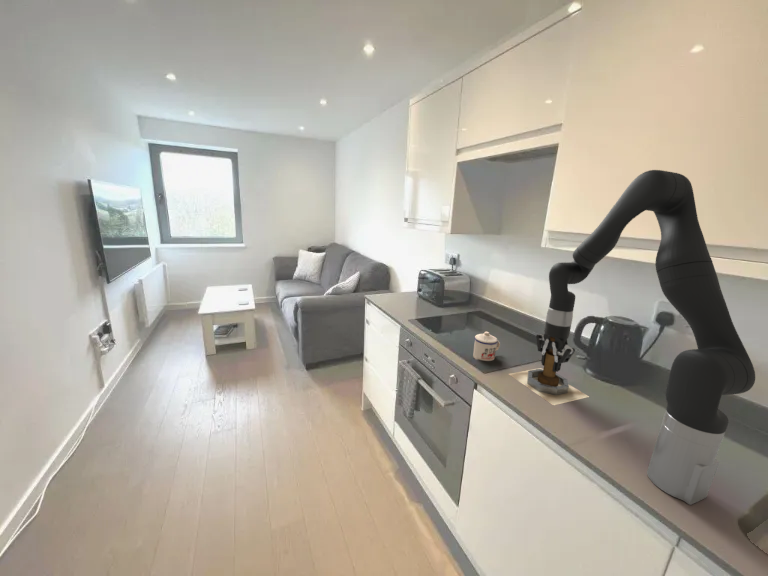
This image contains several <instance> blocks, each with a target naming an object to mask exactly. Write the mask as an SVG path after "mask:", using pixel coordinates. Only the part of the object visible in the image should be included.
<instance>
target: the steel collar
mask: <svg viewBox="0 0 768 576" xmlns="http://www.w3.org/2000/svg"><path fill="white" fill-rule="evenodd" d="M534 369H535V370H532V369H529V370H530V371H528V376H527V384H529V385H530V386H532V387H533V388H534V389H536V390H537V391H539V392H543V393H547V394H551V395H555V396H557V395H562V394H566V393H568V388H569V386H568V384H569V382H568V378H565V377H564V376H562V375H560V374H558V373H557V372H556V376H557V377H558V378H559V384H560V385H562V386H557V387H554V386H549V385H545V384H541V383H540V382H538V381H537V380H535V379H534V378H535V377H538V374H539V373H540V372H543V370H542V369H543V368H542V369H538V368H534Z"/></svg>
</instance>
